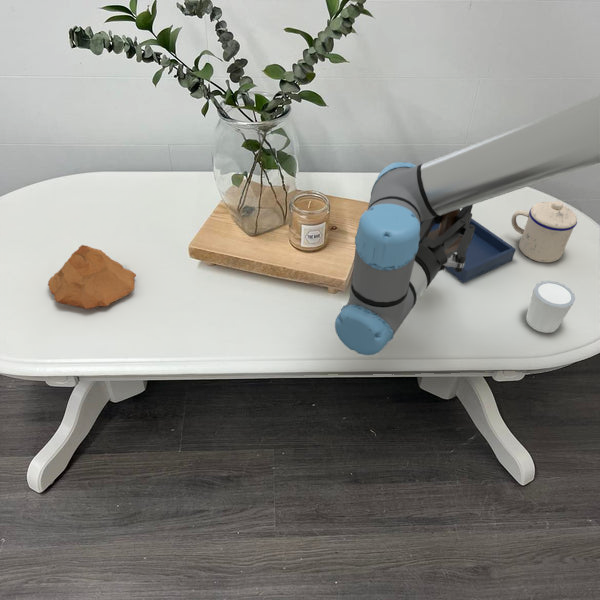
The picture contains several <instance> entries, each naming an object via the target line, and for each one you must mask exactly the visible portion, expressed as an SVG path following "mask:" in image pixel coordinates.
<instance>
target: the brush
mask: <svg viewBox="0 0 600 600" xmlns="http://www.w3.org/2000/svg"><path fill="white" fill-rule="evenodd" d="M460 210H461V209H458V210H455V211H451V212H448V213H445V214H442V218H441V222H440V226H439V228H438V229H436V230H434V231H431V232H429V234H428V236H427V238H429V239H433V240H435V239H436V238H437V237H438V236H439V235H440V236H441V235H443V234H444V233H445V232H446V231H447V230H448V229H449V228H450V227H452V226H453V225H454V224H455V220H456V216H457V215H458V213H459V211H460ZM462 237H463V235H462ZM461 239H462V238H461V237H459V238H458V239H457V240H456V241H455V242H454V243H453V244H452V245H451V246H450V247H449V248H448V249H446V250H445V253H446V256H447V258H450V257H451V255H452V254H454V252H456V251H457V248H458V246H459V243H460V241H461Z"/></svg>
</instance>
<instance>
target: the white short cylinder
mask: <svg viewBox="0 0 600 600" xmlns="http://www.w3.org/2000/svg"><path fill="white" fill-rule="evenodd" d="M575 301H576V296H575V293H574V292H573V291H572V289H570V288H569V287H568V286H566V285H565V284H563V283H560V282H559V281H552V280H544V281H543V280H542V281H540V282H537V283H536V284H535V286H534V288H533V291H532V295H531V297H530V302H529V305H528V309H527V312H526V316H525V320H526V323H527V324H528V326H530V327H531V328H532V329H533V330H535V331H537V332H540V333H544V334H545V333H546V334H550V333H554V332H556V331H557V330H558V328H559V327H560V325H561V323H562V322H563V321H564V319H565V317H566V316H567V315H568V313H569V311H570V310H571V308H572V307H573V305H574V303H575Z"/></svg>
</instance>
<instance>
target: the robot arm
mask: <svg viewBox="0 0 600 600" xmlns="http://www.w3.org/2000/svg"><path fill="white" fill-rule="evenodd" d="M599 163H600V94H598V95H596V96H592V97H590V98H587V99H585V100H583V101H580V102H578V103H577V102H576V103H575V104H573V105H569V106H567V107H564V108H562V109H559V110H557V111H554V112H551V113H549V114H547V115H544V116H542V117H541V116H540V117H539V118H536V119H534V120H531V121H529V122H526V123H524V124H521V125H518V126H515V127H513V128H510V129H508V130H506V131H503V132H499V133H498V134H495V135H492V136H490V137H488V138H485V139H482V140H480V141H477V142H475V143H471V144H470V145H467V146H464V147H462V148H459V149H457V150H454V151H451V152H449V153H446V154H444V155H442V156H439V157H436V158H434V159H431V160H429V161H426V162H423V163H421V164H418V165H416V164H413V163H412V162H408V161H407V162H404V161H395V162H392V163H390V164H388V165H387V166H385V167H384V168H382V170H381V171H380V172H379V174H378V176H377V177H376V180H375V181H374V183H373V186H372V188H371V191H370V199H369V201H368V205H367V208H366V209H367V210H365V211H364V212H363V213H362V214H361V216H360V217H359V221H358V227H357V230H356V234H355V236H354V245H355V247H354V256H353V257H354V259H353V268H352V278H351V282H350V289H349V297H348V300H347V304H345V305H343V306H342V307H341V308H340V312H339V313H338V315H336V318H335V321H334V329H335V333H336V335H337V337H338V339H339V340H340V342H341V343H342V344H343V345H344V346H345V347H346V348H347V349H349V350H350V351H354V352H356V353H357V354H359V355H363V356H373V355H376V354H379V353H380V352H381V351H382V350H383V349H384V348H386V346H387V344H388V343H389V342H391V341H392V340H393V339H394V338H395V334H396V332H397V331H398V329H399V328H400V327H401V325H402V324H403V322H404V321H405V319H406V318H407V317H408V316H409V314H410V312H411V311H412V309H414V307H415V305H416V304H417V303H418V301H419V300H420V299H421V297H422V296H423V294H424V293H425V292H426V290H427V289H428V287H430V284H431V283H432V282H433V281H434V279H435V278H436V276H437V275H438V273H439V272H441V271H443V270H446V267H454V269H455V271H457V272H462V270H463V267H464V263H465V260H466V255H465V254H466V252H467V249H468V247H469V245H470V243H471V240H472V237H473V234H474V230H475V226H474V225H471V224H470V225H469V223H470V222H471V218H472V219H473V213H472V209H473V206H474V205H475V204H478V203H482V202H485V201H488V200H491V199H494V198H497V197H500V196H503V195H506V194H509V193H513V192H515V191H518V190H521V189H524V188H527V187H530V186H534V185H536V184H539V183H542V182H545V181H548V180H551V179H555V178H558V177H561V176H563V175H567V174H569V173H573V172H575V171H578V170H583V169H585V168H588V167H591V166H595V165H596V164H599ZM458 209H460V210H461V211H460V212H459V213H458V215H457V216H456V220H455V224H454V225H453V226H452V227H450V228H449V229H448V230H447V231H446V232H445V233H444V234H443V235H441V236H440V235H439V236H438V237H437V238H436V239H435V240H433V239H429V238H427V236H428V234H429V232H430V230H431V228H432V226H433V225H434V221H435V223H437V224H440V222H441V218H442V214H445V213H448V212H451V211H455V210H458ZM422 222H423V223H422ZM421 223H422V225H421ZM420 225H421V227H420ZM462 235H463V237H462ZM459 237H461V238H462V239H461V241H460V243H459V246H458V248H457V251H456V252H454V254H452V255H451V257H450V258H447V256H446V253H445V250H446V249H448V248H449V247H450V246H451V245H452V244H453V243H454V242H455V241H456V240H457V239H458V238H459Z"/></svg>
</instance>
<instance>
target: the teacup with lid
mask: <svg viewBox="0 0 600 600" xmlns="http://www.w3.org/2000/svg"><path fill="white" fill-rule="evenodd" d="M518 216H523V217H525V218H527V220H526V224H525V226H524V228H521V227H520V225H518V223H517V217H518ZM577 224H578V217H577V214H576V213H575V211H574V210H573V209H571V207H569V206H566V205H564V204H563V202H562V201H559V200H554V201H541V202H538V203H535V204H533V205H532V206H531V208H530V209H529V211H526V210H522V209H521V210H517V211H516V212H514V213H513V215H512V217H511V226H512V228H513V230H515V232H516V233H519V234H521V237H520V239H519V243H518V248H519V250H520V252H521V253H522V255H524V256H525V257H527V258H529V259H531V260H532V261H536V262H539V263H554V262H556V261H558V260H560V259H561V258H562V256H563V253H564V251H565V249H566V246H567V244H568V242H569V240H570V238H571V235H572V232H573V230H574V228H575V227H576V226H577Z"/></svg>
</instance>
